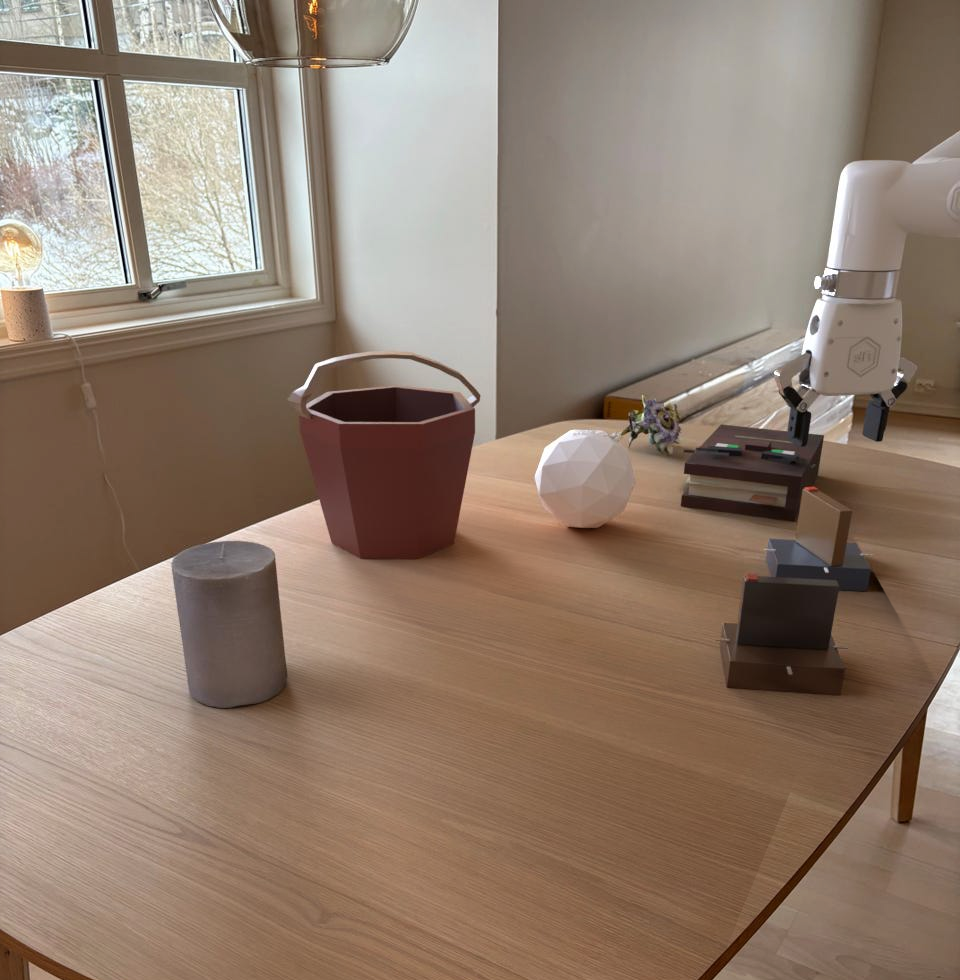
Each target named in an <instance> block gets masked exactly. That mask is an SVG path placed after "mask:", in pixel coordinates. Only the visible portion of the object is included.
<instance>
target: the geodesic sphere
mask: <svg viewBox="0 0 960 980" xmlns="http://www.w3.org/2000/svg"><path fill="white" fill-rule="evenodd" d="M619 436H620V437H619ZM622 438H624V435H622V436H621V431H619V432H618V430H616V431H614V432H613V433H612V432H611V434H608V433H607V432H606V431H605V430H597V429H594V428H593V429H571V430H569V431H567V432H565V434H563V435H561V436H559V437H558V438H557V439H556V440H554V441H553V442H551V443H550V444H548V445H547V446H545V447H544V450H543V453H542V455H541V458H540V460H539V463H538V466H537V469H536V472H535V474H534V481H535V485H536V489H537V492H538V495H539V499H540V502H541V503H540V504H541V507H542V508H543V509H545V510H546V511H547V512H548V513H550V514H551V515H552V516H553V517H554V518H556V519H557V520H558V521H559V522H561V523H562V524H563V526H566V527H570V528H580V529H591V528H592V529H598V528H600V527H601V526H603V525H605V524H606V523H608V522H610V521H611V520H613V519H614V518H616V517H617V516H619V515H621V514H622V513H623V512H625V510H626V507H627V505H628V503H629V500H630V498H631V495H632V492H633V491H634V487H635V485H636V482H637V479H636V476H635V472H634V468H633V464H632V459H631V456H630V452H629V450H628V449H627V448H625V447H624V446H623V445H622V444H621V443H620V441H621V440H622Z"/></svg>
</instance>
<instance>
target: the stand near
mask: <svg viewBox="0 0 960 980" xmlns="http://www.w3.org/2000/svg"><path fill="white" fill-rule="evenodd" d="M737 624H738V622H737V623H736V622H735V623H734V622H722V624H721V625H722V626H721V634H720V638H719V637H715V638H714V639H715V642H720V643H719V651H720V657H721V662H722V669H723V673H724V680H725V684H726V688H730V689H743V690H744V689H745V690H758V691H759V690H760V691H773V692H788V693H791V692H792V693H804V694H818V695H833V696H841V693H842V689H843V685H844V684H843V683H844V679H845V678H844V677H845V673H846V666H845V664H844V662H843V659H842V657H841V654H840V652H839V650H849V649H850V648H849V646H848V645H847V646H846V645H836V643H835V640H834V638H833V636H832V634H831V637H830V643H829V648H828V650H819V649H803V648H787V647H771V646H755V645H739V644H737V641H736V632H737Z"/></svg>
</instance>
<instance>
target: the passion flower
mask: <svg viewBox="0 0 960 980" xmlns="http://www.w3.org/2000/svg"><path fill="white" fill-rule="evenodd" d="M641 400H642V405H643V408H642V409H641V410H642V413H639V410H637V409H632V410H631V411H629V413H628V423H629V424H628V425H627V427H625V429H623V430H622V432H620V437H622V436H626V435H627V434H628V433H630V434H629V435H630V436H629V438H628V447H627V448H628V449H630V447H631V445H632V442H633V441H634V440H636V439H637V438H638V436H639V435H640V434H644V435H648V434H650V435H649V438H648V441H649V444H651V445H654V447H655V448H656V451H658V453H660V454H664V453H665V454H666V455H668V456H672V455H673V453H674V444H676V445H680V444H681V440H680V434H682V428H681V426H680V424H681V423H682V422H681V420H682V416H681V414H680V413H679V412H678V411H679V410H678V406H677V404H675V403H674V404H673V405H672V404H671V403H667V404H665V405H664V402H662V403H659V401H658V400H657V399H656V398H653V399H652V400H651V401H650V400H649V399H647V396H646V394H645V395H644V394H642V395H641ZM638 413H639V414H638ZM636 429H637V430H636Z"/></svg>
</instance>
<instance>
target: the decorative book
mask: <svg viewBox="0 0 960 980" xmlns="http://www.w3.org/2000/svg"><path fill="white" fill-rule="evenodd" d="M824 439H825V435H824V434H818V433H809V435H808V442H807V445H806V446H805V447H800V446H798V445H796V444H794V443H792V442H790V441H789V440H788V434H787V430H778V429H770V428H769V429H768V428H760V427H750V426H740V425H731V424H730V425H729V424H720V425H719V426H718V427H717V428H716V429H715V430H714V431H713V432H712V433H711V434H710V436H709V437H707V439H706V440H705V441H704V442H703V443H702V444H701V445H700V446H699V447H696V448H695V449H683V451H682V453H686V454H691V456H689V457H688V459H687V460H686V461H685V462H684V468H683V474H684V475H688V477H687V478H686V480H684V483H685V484H686V483H687V484H689V486H688V488H687V489H686V490H685V491H683V493H682V494H681V499H680V507H684V508H685V507H686V508H692V509H699V510H707V511H713V512H720V513H721V512H722V513H728V512H729V514H735V513H737V515H743V516H750V515H751V517H758V518H765V519H774V520H781V521H786V522H787V521H788V522H796V521H797V518H798V517H799V511H800V504H801V497H802V491H803V489H805V487H814V483H815V482H816V480H817V478H818V475H819V470H820V465H821V458H822V452H823V444H824Z"/></svg>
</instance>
